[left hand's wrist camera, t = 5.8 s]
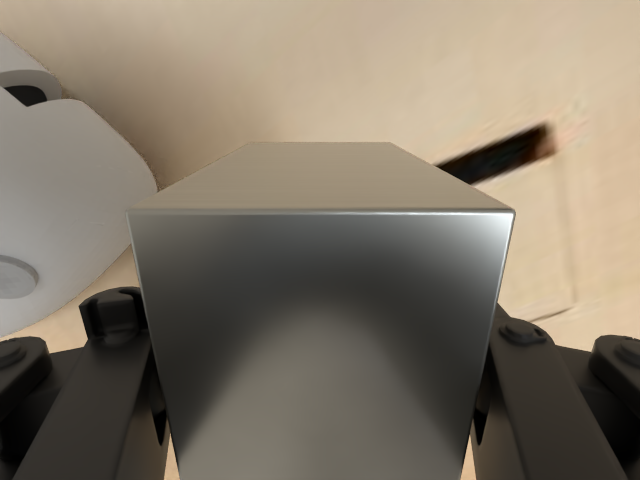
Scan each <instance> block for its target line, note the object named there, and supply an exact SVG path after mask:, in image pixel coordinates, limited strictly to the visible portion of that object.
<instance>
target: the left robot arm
mask: <svg viewBox="0 0 640 480" xmlns="http://www.w3.org/2000/svg"><path fill="white" fill-rule="evenodd" d="M79 309H80V313H81V316H82V320H83V323H84V327H85V330H86V334H87V337H88V340H87V342H86V344H85V346H84V347H81V348H76V349H71V350H66V351H61V352H55V353H50V354H49V351H48V348H47V345H46V342H45V341H44V340H43V339H41V338H39V337H31V336H29V337H20V338H12V339H9V340H5V341H1V342H0V480H164V474H165V467H166V459H167V452H168V445H169V437H170V428H169V423H168V419H167V414H166V409H165V404H164V399H163V395H162V390H161V385H160V380H159V376H158V371H157V366H156V361H155V356H154V352H153V347H152V342H151V337H150V332H149V328H148V323H147V318H146V313H145V308H144V304H143V299H142V294H141V289H140V288H138V287H119V288H114V289H108V290H106V291H103V292H100V293H97V294H95V295H93V296H91V297H89V298H87V299H86V300H84V301H83V302H82V303H81V304H80V305H79ZM470 436H471V444H472V451H473V458H474V466H475V473H476V480H640V340H639V339H635V338H634V339H633V338H632V337H627V336H617V335H605V336H600V337H599V338H597V339H596V340H595V343H594V346H593V349H592V352H588V351H583V350H578V349H572V348H567V347H562V346H558V345H555V343H554V341H553V340H552V338H551V337H550V336H549V335H548V334H547V332H546V331H544V330H543V329H541V328H540V327H538V326H536V325H534V324H532V323H529V322H527V321H525V320H521V319H516V318H512V317H510V316H509V315H508V314H507V313H506V312H505V311H504V309H503V308H502V307H501V306H500V305H499V304H498V303H497V306H496V311H495V316H494V321H493V325H492V330H491V335H490V340H489V344H488V349H487V354H486V359H485V364H484V368H483V373H482V378H481V383H480V387H479V392H478V397H477V402H476V406H475V411H474V416H473V421H472V426H471V430H470Z"/></svg>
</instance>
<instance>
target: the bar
mask: <svg viewBox="0 0 640 480" xmlns="http://www.w3.org/2000/svg"><path fill="white" fill-rule="evenodd" d="M515 215H516V214H515V210H514V209H513V208H511V207H509V206H507V205H505V204H504V203H502V202H500V201H498V200H496V199H494V198H492V197H491V196H489V195H487V194H485V193H483V192H481V191H479V190H478V189H476V188H474V187H472V186H470V185H468V184H466V183H465V182H463V181H461V180H459V179H457V178H455V177H454V176H452V175H450V174H448V173H446V172H444V171H442V170H441V169H439V168H437V167H435V166H433V165H431V164H429V163H428V162H426V161H424V160H422V159H420V158H418V157H416V156H415V155H413V154H411V153H409V152H407V151H405V150H403V149H402V148H400V147H398V146H396V145H394V144H392V143H390V142H250V143H248V144H246V145H244V146H242V147H240V148H239V149H237V150H235V151H233V152H231V153H229V154H228V155H226V156H224V157H222V158H220V159H218V160H216V161H215V162H213V163H211V164H209V165H207V166H205V167H203V168H202V169H200V170H198V171H196V172H194V173H192V174H191V175H189V176H187V177H185V178H183V179H181V180H179V181H178V182H176V183H174V184H172V185H170V186H168V187H167V188H165V189H163V190H161V191H159V192H157V193H155V194H154V195H152V196H150V197H148V198H146V199H144V200H142V201H141V202H139V203H137V204H135V205H133V206H131V207H130V208H128V209H126V211H125V217H126V222H127V227H128V232H129V236H130V241H131V246H132V251H133V256H134V260H135V265H136V270H137V275H138V280H139V284H140V289H141V294H142V299H143V304H144V308H145V313H146V318H147V323H148V328H149V332H150V337H151V342H152V347H153V352H154V356H155V361H156V366H157V371H158V376H159V380H160V385H161V390H162V395H163V399H164V404H165V409H166V414H167V419H168V423H169V428H170V433H171V438H172V443H173V447H174V452H175V457H176V462H177V467H178V471H179V476H180V480H460V478H461V473H462V469H463V464H464V459H465V454H466V449H467V445H468V440H469V435H470V430H471V426H472V421H473V416H474V411H475V406H476V402H477V397H478V392H479V387H480V383H481V378H482V373H483V368H484V364H485V359H486V354H487V349H488V344H489V340H490V335H491V330H492V325H493V321H494V316H495V311H496V306H497V301H498V297H499V292H500V287H501V282H502V278H503V273H504V268H505V263H506V258H507V254H508V249H509V244H510V239H511V235H512V230H513V225H514V220H515Z"/></svg>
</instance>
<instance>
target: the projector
mask: <svg viewBox="0 0 640 480" xmlns="http://www.w3.org/2000/svg"><path fill="white" fill-rule="evenodd" d="M61 97H62V89H61V86H60V83H59V81H58V80H57V78H56V77H55V76H54V75H53V74H51V73H50V72H49V71H48V70H47V69H46V68H45V67H43V66H42V65H41V64H40V63H39V62H38V61H36V60H35V59H34V58H33V57H32V56H30V55H29V54H28V53H27V52H26V51H24V50H23V49H22V48H21V47H20V46H18V45H17V44H16V43H14V42H13V41H12V40H11V39H9V38H8V37H7V36H5V35H4V34H3V33H1V32H0V338H1V337H3V336H6V335H9V334H12V333H14V332H17V331H19V330H22V329H24V328H26V327H28V326H30V325H32V324H35V323H36V322H38V321H40V320H42V319H44V318H46V317H47V316H49V315H50V314H52V313H54V312H55V311H57V310H58V309H60V308H61V307H63V306H64V305H65V304H67V303H68V302H70V301H71V300H72V299H73V298H75V297H76V296H77V295H79V294H80V293H81V292H82V291H84V290H85V289H86V288H87V287H88V286H89V285H90V284H91V283H93V282H94V281H95V280H96V279H97V278H98V277H99V276H100V275H101V274H103V273H104V272H105V271H106V270H107V269H108V268H109V267H110V266H111V265H112V264H113V263H114V262H115V261H116V259H117V258H118V257H119V256H120V255H121V254H122V253H123V252H124V251H125V250H126V249H127V247H128V246H129V245H130V244H131V241H130V236H129V232H128V227H127V222H126V217H125V211H126V209H128V208H130V207H131V206H133V205H135V204H137V203H139V202H141V201H142V200H144V199H146V198H148V197H150V196H152V195H154V194H155V193H157V192H158V190H157V185H156V182H155V179H154V177H153V175H152V173H151V171H150V169H149V167H148V165H147V164H146V163H145V161H144V160H143V159H142V157H141V156H140V155H139V154H138V153H137V152H136V151H135V149H134V148H133V147H132V146H131V145H130V144H129V143H128V142H127V141H126V140H125V139H124V138H123V137H122V136H121V135H120V134H119V133H118V132H117V131H116V130H114V129H113V128H112V127H111V126H110V125H109V124H108V123H107V122H106V121H105V120H104V119H103V118H101V117H100V116H99V115H98V114H97V113H96V112H95V111H94V110H92V109H91V108H90V107H89V106H88V105H87V104H86V103H84V102H82V101H79V100H74V99H61Z"/></svg>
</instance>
